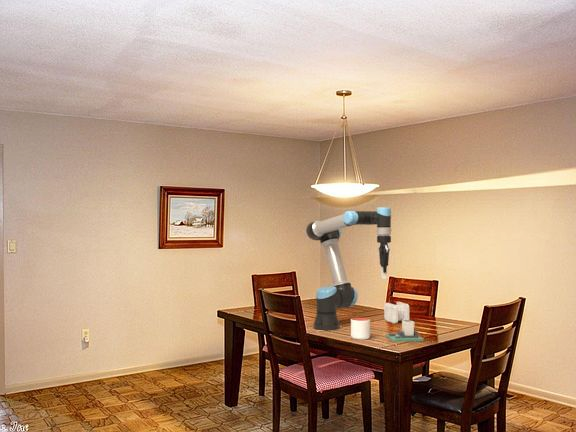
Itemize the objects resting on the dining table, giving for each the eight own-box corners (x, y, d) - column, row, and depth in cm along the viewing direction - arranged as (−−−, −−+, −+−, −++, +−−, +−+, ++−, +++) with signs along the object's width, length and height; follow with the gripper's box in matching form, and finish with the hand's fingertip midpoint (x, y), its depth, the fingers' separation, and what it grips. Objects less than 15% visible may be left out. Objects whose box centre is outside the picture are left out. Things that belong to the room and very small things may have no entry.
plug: (404, 337, 291) (404, 321, 291) (402, 335, 295) (402, 319, 295) (415, 337, 291) (415, 321, 291) (412, 335, 295) (412, 319, 295)
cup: (368, 336, 299) (368, 317, 299) (371, 340, 289) (371, 320, 289) (349, 336, 299) (349, 317, 299) (352, 340, 289) (352, 321, 289)
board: (393, 341, 285) (393, 333, 285) (385, 336, 299) (385, 328, 299) (423, 341, 287) (423, 332, 287) (414, 335, 301) (414, 327, 301)
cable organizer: (410, 324, 336) (410, 304, 336) (394, 324, 333) (394, 305, 333) (398, 319, 350) (398, 301, 351) (383, 320, 347) (383, 302, 348)
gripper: (394, 235, 300) (394, 279, 299) (387, 235, 313) (387, 277, 312) (380, 235, 299) (380, 279, 298) (374, 235, 312) (374, 277, 311)
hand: (384, 278), depth 305 cm, fingers closed
